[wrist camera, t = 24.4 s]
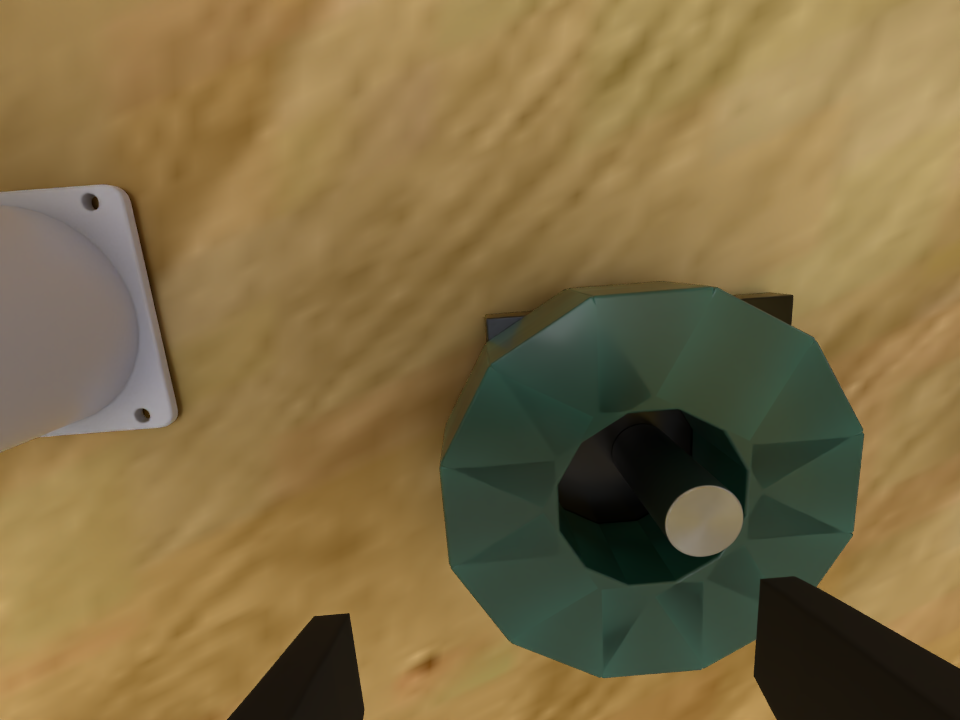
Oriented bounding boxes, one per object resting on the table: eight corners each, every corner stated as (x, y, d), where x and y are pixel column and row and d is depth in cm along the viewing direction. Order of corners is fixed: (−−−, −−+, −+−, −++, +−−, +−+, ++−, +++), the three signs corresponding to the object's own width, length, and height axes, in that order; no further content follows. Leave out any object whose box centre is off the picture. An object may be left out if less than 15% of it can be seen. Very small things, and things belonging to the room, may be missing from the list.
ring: (463, 611, 17) (461, 691, 14) (432, 298, 14) (422, 308, 11) (772, 585, 17) (841, 659, 14) (794, 270, 15) (883, 272, 11)
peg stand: (502, 567, 18) (518, 701, 12) (484, 314, 16) (492, 341, 10) (754, 546, 18) (879, 670, 13) (770, 292, 16) (929, 308, 10)
